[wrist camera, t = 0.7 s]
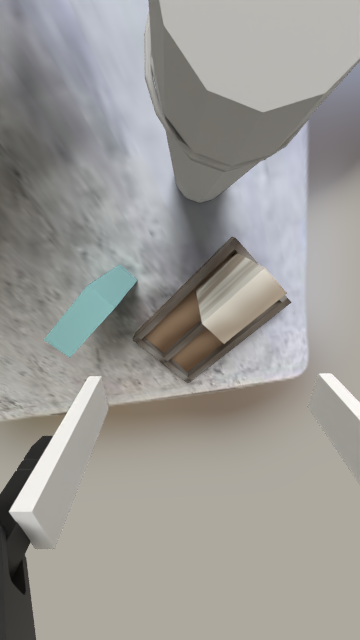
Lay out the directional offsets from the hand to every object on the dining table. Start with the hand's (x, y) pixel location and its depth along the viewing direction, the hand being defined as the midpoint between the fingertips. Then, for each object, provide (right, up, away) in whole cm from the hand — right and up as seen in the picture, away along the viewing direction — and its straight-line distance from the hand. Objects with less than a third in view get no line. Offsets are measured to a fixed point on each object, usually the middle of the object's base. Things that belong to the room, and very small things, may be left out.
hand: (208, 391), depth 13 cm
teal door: (-13, +9, +21) cm, 26 cm away
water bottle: (+1, +24, +14) cm, 28 cm away
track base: (+3, +5, +23) cm, 23 cm away
